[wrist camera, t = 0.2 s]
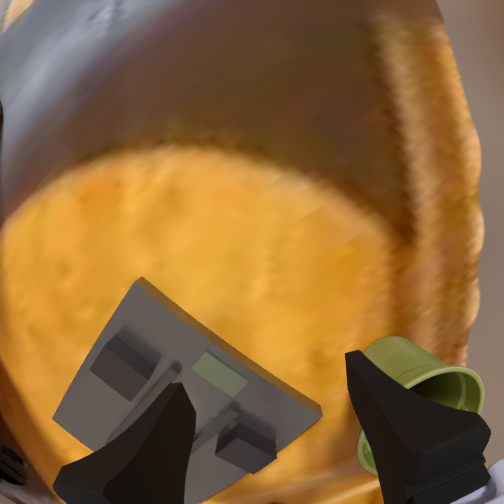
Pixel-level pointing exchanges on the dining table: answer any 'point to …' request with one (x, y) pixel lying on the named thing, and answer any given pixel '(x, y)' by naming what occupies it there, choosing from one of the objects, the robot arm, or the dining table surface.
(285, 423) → the panel
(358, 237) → the dining table surface
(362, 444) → the plant pot
